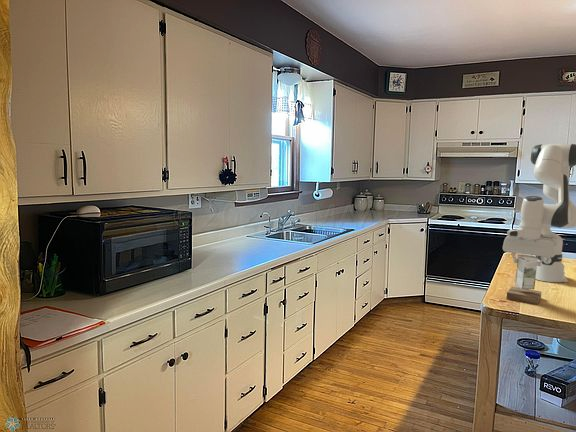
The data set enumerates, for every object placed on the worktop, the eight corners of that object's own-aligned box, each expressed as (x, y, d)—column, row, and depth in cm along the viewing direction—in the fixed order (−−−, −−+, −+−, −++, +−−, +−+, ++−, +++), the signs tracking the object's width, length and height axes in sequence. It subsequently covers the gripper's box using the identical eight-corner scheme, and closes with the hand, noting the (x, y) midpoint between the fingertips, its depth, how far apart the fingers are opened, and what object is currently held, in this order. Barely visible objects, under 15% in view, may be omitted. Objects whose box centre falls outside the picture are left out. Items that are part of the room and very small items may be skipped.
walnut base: (511, 292, 200) (511, 286, 199) (540, 298, 193) (541, 291, 192) (506, 298, 190) (506, 292, 190) (537, 304, 183) (537, 298, 183)
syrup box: (527, 286, 194) (530, 254, 192) (534, 289, 188) (538, 257, 186) (514, 285, 194) (517, 254, 192) (522, 289, 188) (525, 257, 186)
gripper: (558, 235, 184) (555, 266, 186) (506, 230, 196) (503, 259, 198) (557, 237, 179) (553, 269, 181) (503, 231, 191) (500, 261, 193)
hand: (527, 264), depth 190 cm, fingers closed on syrup box, 8 cm apart
